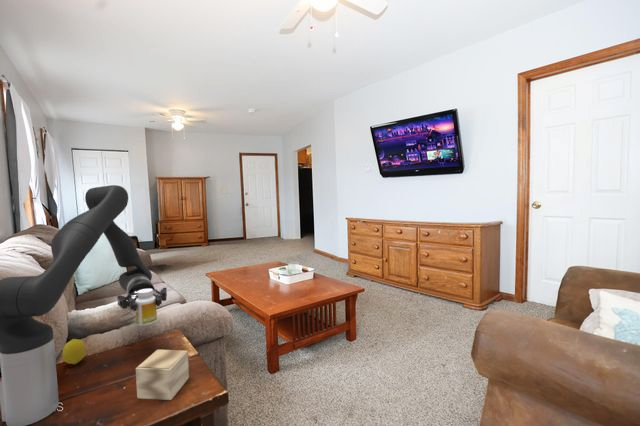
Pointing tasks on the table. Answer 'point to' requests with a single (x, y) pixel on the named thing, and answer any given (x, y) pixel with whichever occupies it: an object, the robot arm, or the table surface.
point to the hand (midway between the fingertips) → (146, 305)
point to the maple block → (162, 374)
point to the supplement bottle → (145, 307)
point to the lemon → (73, 351)
